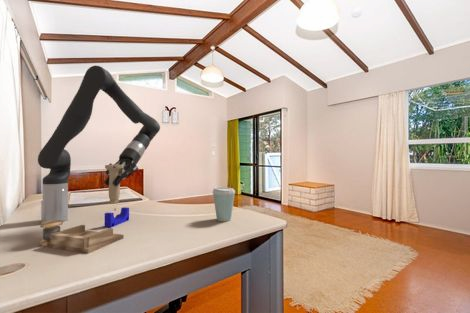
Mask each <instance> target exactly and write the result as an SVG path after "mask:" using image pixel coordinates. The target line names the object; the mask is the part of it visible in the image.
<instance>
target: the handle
mask: <svg viewBox="0 0 470 313" xmlns="http://www.w3.org/2000/svg"><path fill="white" fill-rule="evenodd" d="M104 168H105V169H106V171H107V170H109V173H110V175H109V186H108V199H109V203H110V204H113V205H114V204H119V202H120V200H119V199H120V195H121V184H120V183H121V182H120V183H119V185H118V186H114V185H113V184H112V183H113V181H114V180H115V178H116V177H117V176H119V171H120V170H121V169H123V165H113V164H112V165H109V164H105V165H104Z"/></svg>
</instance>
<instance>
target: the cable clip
mask: <svg viewBox="0 0 470 313" xmlns="http://www.w3.org/2000/svg"><path fill="white" fill-rule="evenodd" d="M114 214H115V213H114V212H105V213H104V228H106V229H108V228H114V227H116V226H118V225H121V224H123V223H126V222H127V221H130V207H125V206H124V207H121V209H120V213H118V214H116V215H114Z"/></svg>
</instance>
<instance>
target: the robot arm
mask: <svg viewBox="0 0 470 313" xmlns="http://www.w3.org/2000/svg"><path fill="white" fill-rule="evenodd" d="M100 91H102V92H104V93H105V94H106V95H107V96H109V97H110V98H111V99H112V100H113V102H115V104H116V105H117V106H118V108H119V109H120V110H121V112H122V113H123V114H124V115H125V116H126V117H127V118H128V119H129V120H130V121H131V122H132V123H134V124H135V125H137V124H141V125H142V127H141V128H140V130H138V131H139V132H138V133H137V134H136V135H135V136H134V137H133V139H132V140H131V141H130V142H129V143H128V144H127V145H126V146H125V148H124V149H123V151H122V152H121V153H120V154H119V156H118V160H117V161H116V162H115V163H114V164H113V163H109V164H108V165H123V169H121V170H120V171H119V176H117V177H116V178H115V180H114V181H113V183H112V184H113V185H114V186H118V185H119V183H121V182H122V181H123V180H125V179H128V178H130V177H131V176H133V174H134V173H135V172H137V171H138V169H139V167H138V166H137V164H138V163H139V161H140V160H141V158H142V157H143V155H144V154H145V152H146V150H147V149H148V147H149V146H150V144H151V141H153V139H154V138H155V137H156V136H157V134H158V133H159V132H160V130H161V125H160V123H159V122H158V121H157V120H156V119H155V118H153V117H152V116H150V115H149V114H147V112H144V111H143V110H142V108H140V106H138V105H137V103H135V101H134V100H132V99H131V98H130V97H129V96H128V95H127V94H126V93H125V92H124V91H123V89H122V88H121V86H119V85H118V83H117V82H116V79H114V77H113V76H112V74H111V73H110V72H109V71H108V70H107V69H105V68H104V67H103V66H100V65H92V66H90V67H89V68H87V70H86V72H85V73H84V76H83V78H82V81H81V83H80V86H79V87H78V90H77V92H76V93H75V95H74V97H73V99H72V100H71V103H70V104H69V105H68V107H67V109H66V111H65V112H64V114H63V116H62V117H61V119H60V122H59V123H58V125H57V126H56V128H55V130H54V132H52V134H51V137H50V138H49V139H48V141H47V142H46V143H45V145H44V146H43V147H42V148H41V149H40V151H39V153H38V155H37V164H38V165H39V166H40V167H41V168H43V169H48V170H49V173H48V174H47V175H46V176H43V177H42V200H41V203H40V204H41V207H40V208H41V209H40V210H41V213H40V214H41V216H40V217H41V223H42V222H45V221H51V220H63V222H65V221H68V219H69V190H68V189H69V178H70V176H71V165H72V164H71V162H72V161H71V160H72V159H71V155H70V153H69V151H68V150H66V149H65V148H66V147H67V145H68V144H69V143H70V141H72V140H73V139H75V138H76V137H77V136H78V135H80V134H81V133H82V132H83V130H84V129H85V128H86V126H87V125H88V123H89V121H90V119H91V116H92V113H93V106H94V103H95V102H94V101H95V99H96V97H97V95H98V94H99V92H100ZM105 174H106V175H107V177H106V178H105V180H104V181H103V184H104V186H106V187H109V175H110V173H109V170H107V169H106V172H105Z"/></svg>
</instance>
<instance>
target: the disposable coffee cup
mask: <svg viewBox="0 0 470 313" xmlns="http://www.w3.org/2000/svg"><path fill="white" fill-rule="evenodd" d="M235 194H236V190H235V189H234V188H232V187H226V186H214V187H213V189H212V196H213V201H214V202H213V203H214V209H215V215H216V216H215V217H216V220H217V221H218V222H229V221H231V219H232V216H233V209H234V202H235Z"/></svg>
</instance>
